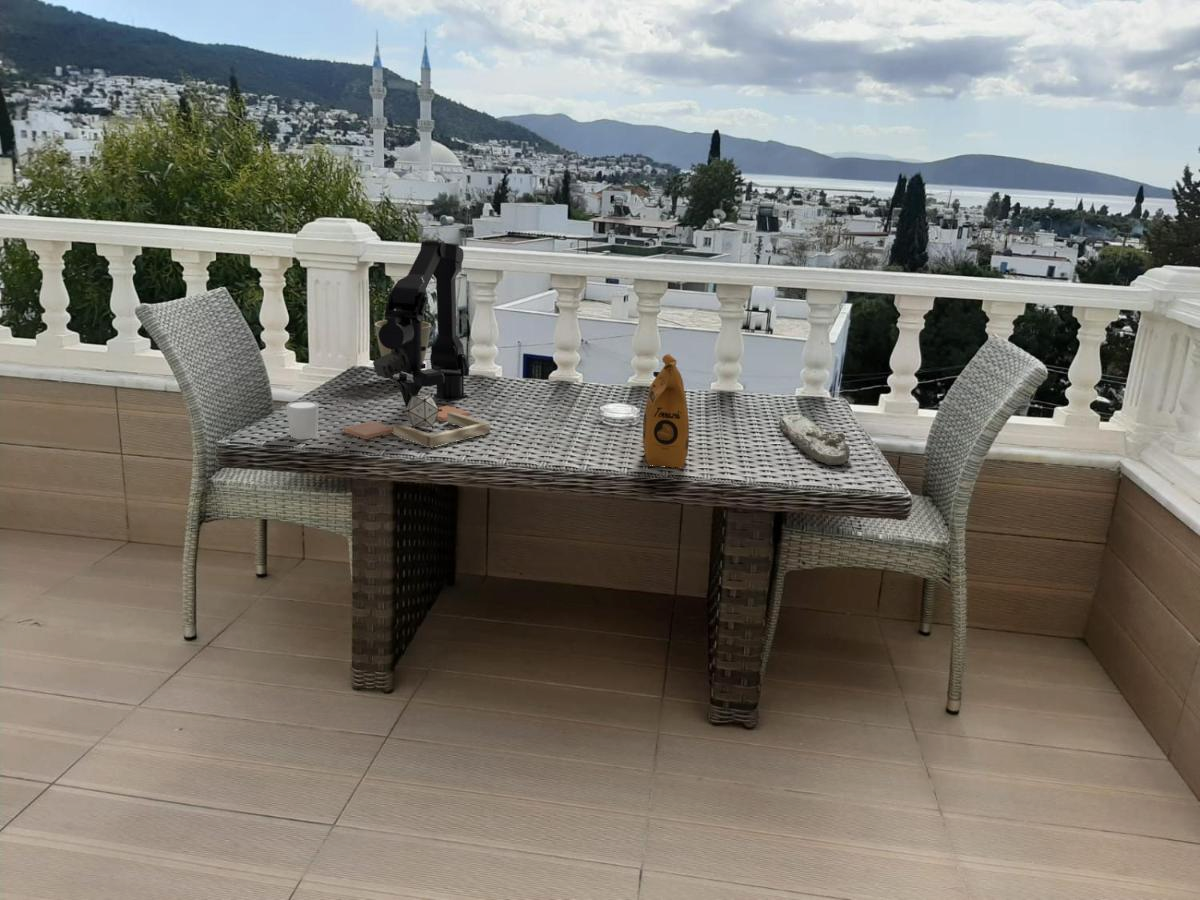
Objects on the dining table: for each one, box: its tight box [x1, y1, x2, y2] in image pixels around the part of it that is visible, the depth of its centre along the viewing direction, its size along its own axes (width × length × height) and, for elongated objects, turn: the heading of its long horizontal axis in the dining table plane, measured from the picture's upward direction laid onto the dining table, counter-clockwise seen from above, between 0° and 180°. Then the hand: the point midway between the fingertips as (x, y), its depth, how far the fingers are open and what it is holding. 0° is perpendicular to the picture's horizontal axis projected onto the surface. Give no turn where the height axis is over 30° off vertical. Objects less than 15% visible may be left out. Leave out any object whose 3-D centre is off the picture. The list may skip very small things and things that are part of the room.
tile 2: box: [435, 405, 470, 422], centre depth 217 cm, size 8×8×1 cm
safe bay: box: [392, 412, 491, 447], centre depth 201 cm, size 17×13×2 cm
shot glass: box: [285, 400, 320, 440], centre depth 195 cm, size 7×7×7 cm
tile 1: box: [342, 421, 394, 440], centre depth 201 cm, size 8×8×1 cm
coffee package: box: [642, 353, 690, 469], centre depth 188 cm, size 10×12×22 cm
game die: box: [401, 392, 442, 430], centre depth 204 cm, size 9×8×10 cm
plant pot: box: [374, 319, 432, 383], centre depth 247 cm, size 15×15×16 cm
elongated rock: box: [778, 414, 851, 466], centre depth 208 cm, size 35×5×10 cm
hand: (408, 407), depth 207 cm, fingers closed
